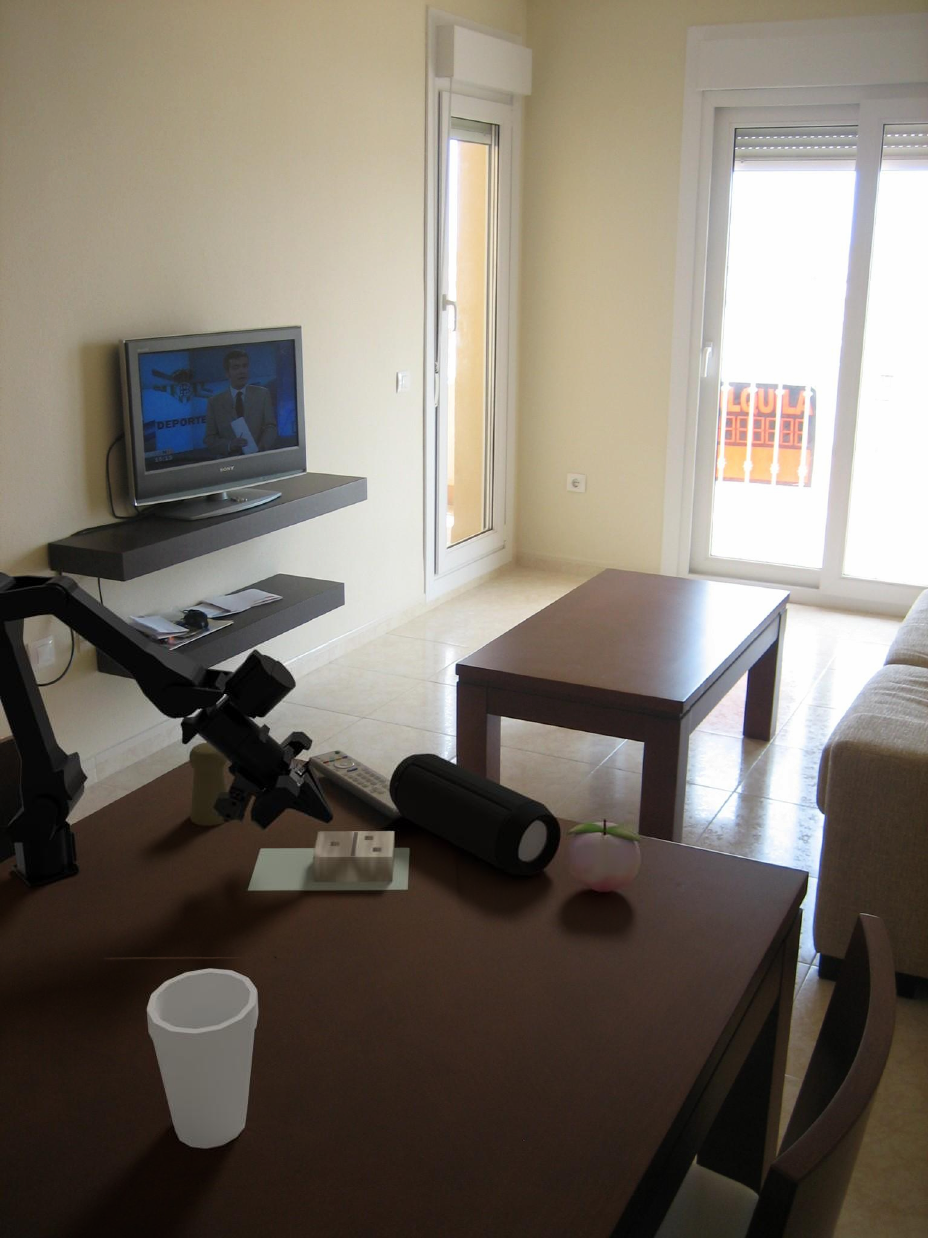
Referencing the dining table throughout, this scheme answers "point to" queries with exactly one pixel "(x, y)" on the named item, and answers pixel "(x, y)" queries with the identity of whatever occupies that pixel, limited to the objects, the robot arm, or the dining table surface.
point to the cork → (207, 784)
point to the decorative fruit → (603, 855)
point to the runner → (297, 872)
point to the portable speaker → (476, 813)
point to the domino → (354, 856)
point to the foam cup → (205, 1051)
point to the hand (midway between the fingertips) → (331, 820)
